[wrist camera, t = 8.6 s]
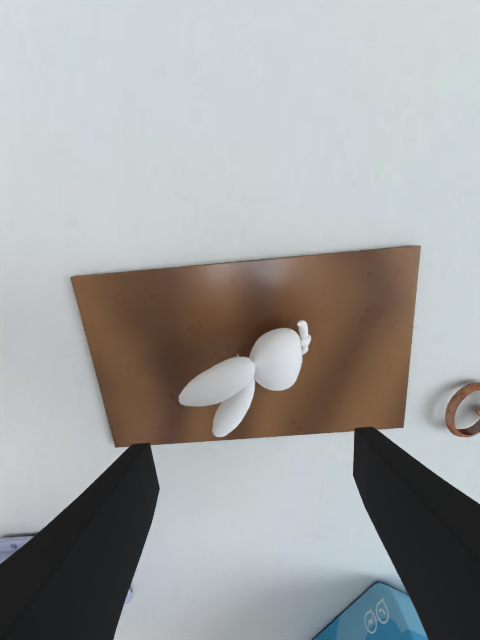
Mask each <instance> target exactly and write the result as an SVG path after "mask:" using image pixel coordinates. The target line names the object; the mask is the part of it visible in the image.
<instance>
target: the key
mask: <svg viewBox="0 0 480 640" xmlns="http://www.w3.org/2000/svg"><path fill="white" fill-rule="evenodd" d="M479 390H480V383H473V384H469V385H466V386H465V387H463V388H461V389H460V390H459V391H457V392H456V393H455V395H454V396H453V397H452V398H451V400H450V402H449V403H448V406H447V409H446V413H445V421H446V425H447V427H448V429H449V430H450V432H451V433H452V434H454V435H456V436H459V437H471V436H474V435H476V434H478V433H480V419H479V421H477V422H476V423H475V424H474V425H473V426H471V427H469V428H467V429H456V428H455V424H454V416H455V412H456V410H457V407H458V406H459V404H460V403H461V401H462V400H463V399H464V398H465V397H466V396H468V395H469V394H470V393H472V392H475V391H479ZM476 413H477V414H478V415H479V416H480V410H476Z"/></svg>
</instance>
